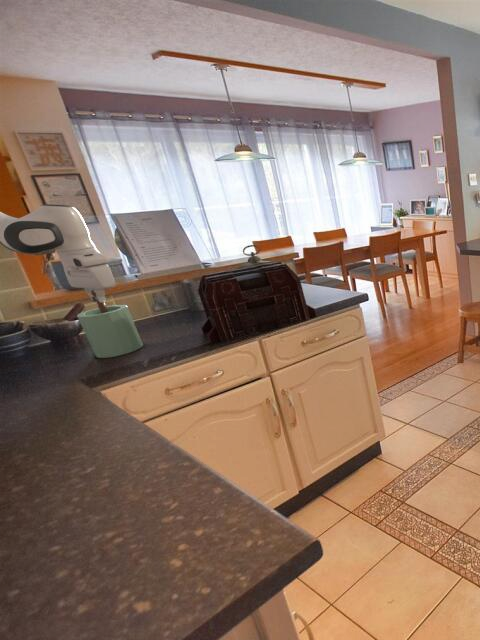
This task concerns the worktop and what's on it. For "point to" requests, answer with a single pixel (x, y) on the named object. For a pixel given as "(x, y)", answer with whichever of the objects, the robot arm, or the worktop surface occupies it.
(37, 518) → the worktop surface
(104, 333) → the jar
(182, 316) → the worktop surface
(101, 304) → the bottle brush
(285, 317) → the crate
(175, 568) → the worktop surface
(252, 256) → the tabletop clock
